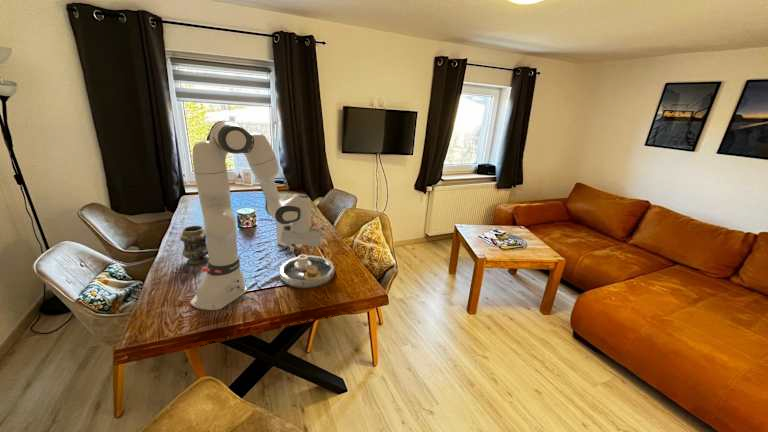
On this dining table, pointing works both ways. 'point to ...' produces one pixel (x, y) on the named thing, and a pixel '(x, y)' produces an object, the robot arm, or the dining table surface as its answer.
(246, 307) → the dining table surface
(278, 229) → the milk carton
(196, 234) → the apothecary jar
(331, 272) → the grey round tray
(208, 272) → the robot arm
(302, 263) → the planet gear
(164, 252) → the dining table surface
